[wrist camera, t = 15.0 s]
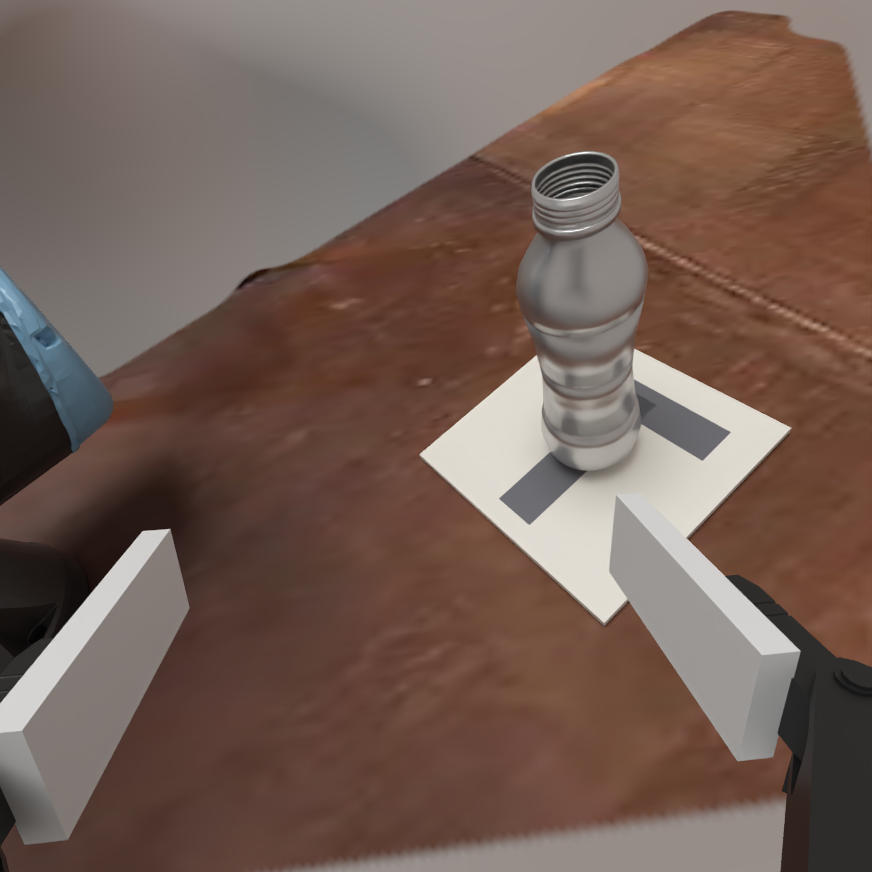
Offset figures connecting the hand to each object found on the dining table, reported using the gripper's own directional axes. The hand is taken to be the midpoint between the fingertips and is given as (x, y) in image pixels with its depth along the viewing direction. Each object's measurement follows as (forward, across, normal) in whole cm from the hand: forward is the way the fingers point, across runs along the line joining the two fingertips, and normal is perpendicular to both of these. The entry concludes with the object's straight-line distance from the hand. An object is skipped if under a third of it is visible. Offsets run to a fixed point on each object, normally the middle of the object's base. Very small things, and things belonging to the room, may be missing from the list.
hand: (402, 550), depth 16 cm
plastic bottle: (+20, +14, -6) cm, 25 cm away
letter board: (+21, +14, -6) cm, 26 cm away
